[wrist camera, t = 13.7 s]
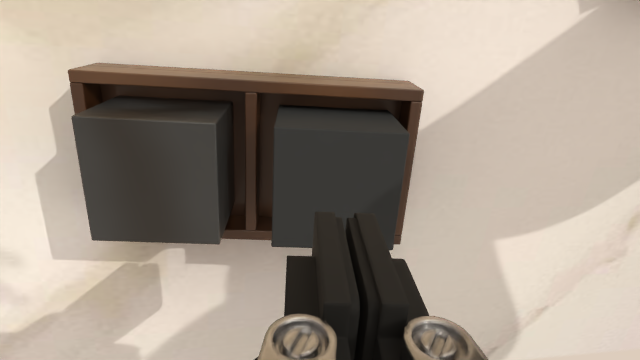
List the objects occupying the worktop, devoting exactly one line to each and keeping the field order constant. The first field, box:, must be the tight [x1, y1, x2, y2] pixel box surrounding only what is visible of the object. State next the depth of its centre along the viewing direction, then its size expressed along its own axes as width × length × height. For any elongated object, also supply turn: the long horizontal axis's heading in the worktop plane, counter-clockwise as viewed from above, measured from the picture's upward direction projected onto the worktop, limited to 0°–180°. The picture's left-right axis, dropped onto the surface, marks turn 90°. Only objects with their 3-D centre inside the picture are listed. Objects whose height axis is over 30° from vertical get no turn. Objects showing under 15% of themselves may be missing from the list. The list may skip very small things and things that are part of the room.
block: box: [272, 105, 410, 250], centre depth 18 cm, size 5×5×4 cm
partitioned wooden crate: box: [68, 63, 424, 244], centre depth 18 cm, size 14×7×5 cm, turn 86°
